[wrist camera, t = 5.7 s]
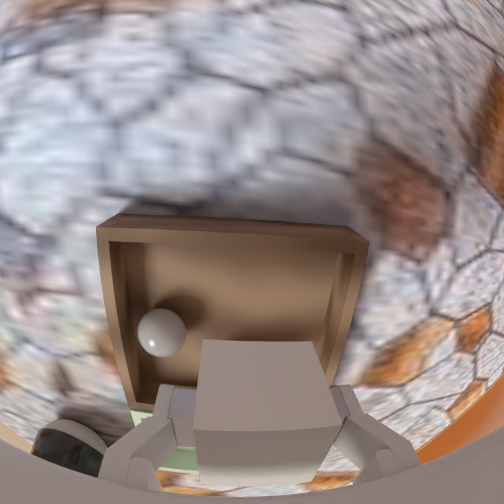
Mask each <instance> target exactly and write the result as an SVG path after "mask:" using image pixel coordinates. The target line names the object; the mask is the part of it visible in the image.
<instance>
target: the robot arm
mask: <svg viewBox="0 0 504 504" xmlns="http://www.w3.org/2000/svg"><path fill="white" fill-rule="evenodd" d="M329 388H330V391H331V394H332V396H333V399H334V402H335V405H336V407H337V410H338V413H339V416H340V418H341V421H342V424H343V425H342V427H341V429H340V431H339V433H338V435H337V437H336V439H335V441H334V444H333V445H334V446H335V447H336V448H337V449H338V450H339V451H341V452H342V453H343V454H344V455H345V456H346V457H347V458H348V459H349V460H350V461H351V462H352V463H353V464H354V465H356V466H357V467H358V468H359V469H360V470H361V473H360V474H359V475H358V476H357V477H356V479H355V480H354V481H353V485H349V486H344V487H339V488H334V489H328V490H322V491H315V492H308V493H300V494H290V495H279V496H261V497H216V496H198V495H187V494H177V493H169V492H162V490H163V489H162V487H161V484H160V482H159V480H158V478H157V475H156V473H155V472H156V471H157V470H158V469H159V468H160V467H161V466H162V464H163V463H164V462H165V461H166V460H167V459H168V458H169V457H170V456H171V454H172V453H173V452H174V451H175V450H176V449H177V448H178V447H177V446H181V447H195V442H194V434H193V423H194V413H195V403H196V394H197V388H196V387H186V386H177V385H168V384H161V385H160V386H159V390H158V394H157V398H156V402H155V407H154V411H153V415H152V417H151V416H148V417H147V418H145V419H144V420H143V421H142V422H141V423H139V424H138V425H137V426H136V427H134V428H133V429H132V430H130V431H129V432H128V433H127V434H125V435H124V436H123V437H122V438H120V439H119V440H118V441H116V442H115V443H114V444H113V445H111V446H110V447H109V448H107V449H106V451H105V454H104V457H103V461H102V464H101V468H100V471H99V475H98V478H96V477H92V476H89V475H86V474H82V473H79V472H76V471H73V470H70V469H67V468H64V467H62V466H59V465H56V464H54V463H51V462H49V461H46V460H44V459H41V458H39V457H36V456H34V455H32V454H29V453H27V452H25V451H23V450H21V449H19V448H17V447H14V446H13V445H11V444H9V443H7V442H5V441H3V440H1V439H0V504H504V426H502V427H500V428H499V429H497V430H495V431H493V432H491V433H490V434H488V435H486V436H484V437H482V438H481V439H478V440H477V441H475V442H473V443H471V444H469V445H467V446H464V447H462V448H460V449H458V450H456V451H454V452H452V453H449V454H447V455H445V456H442V457H440V458H438V459H435V460H433V461H430V462H428V463H425V464H422V465H421V463H420V461H419V458H418V456H417V454H416V452H415V450H414V448H413V446H412V444H411V442H410V441H409V440H407V439H405V438H404V437H402V436H401V435H399V434H397V433H396V432H394V431H393V430H391V429H390V428H388V427H387V426H385V425H384V424H382V423H381V422H379V421H378V420H376V419H375V418H373V417H372V416H370V415H369V414H364V413H363V411H362V409H361V407H360V404H359V402H358V400H357V398H356V395H355V393H354V391H353V389H352V387H351V386H350V385H339V386H329Z"/></svg>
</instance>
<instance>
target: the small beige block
mask: <svg viewBox="0 0 504 504" xmlns="http://www.w3.org/2000/svg"><path fill="white" fill-rule="evenodd" d="M342 425H343V424H342V421H341V418H340V416H339V413H338V410H337V407H336V405H335V402H334V399H333V396H332V394H331V391H330V388H329V385H328V383H327V380H326V377H325V375H324V372H323V369H322V367H321V364H320V361H319V359H318V356H317V353H316V351H315V348H314V345H313V343H312V341H304V342H262V341H227V340H207V339H203V342H202V350H201V358H200V367H199V376H198V385H197V394H196V403H195V413H194V423H193V434H194V442H195V450H196V457H197V464H198V471H199V477H200V484H201V485H208V486H271V485H285V484H296V483H305V482H311V481H312V479H313V477H314V476H315V474H316V473H317V471H318V469H319V467H320V466H321V464H322V462H323V461H324V459H325V457H326V455H327V454H328V452H329V450H330V448H331V446H332V444H333V443H334V441H335V439H336V437H337V435H338V433H339V431H340V429H341V427H342Z"/></svg>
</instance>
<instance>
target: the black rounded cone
mask: <svg viewBox="0 0 504 504" xmlns="http://www.w3.org/2000/svg"><path fill="white" fill-rule="evenodd" d="M107 448H108V447H107V446H106V444H105V442H104V441H103V440H102V439H101V437H100V436H99V435H98V434H96V433H95V432H94V431H93V430H91V429H90V428H88V427H87V426H85V425H83V424H81V423H78V422H75V421H72V420H67V419H59V420H55V421H52V422H50V423H49V424H47V425H46V426H45V427H44V428H42V429H40V430H39V431H38V433H37V435H36V437H35V439H34V442H33V446H32V449H31V453H30V454H32V455H34V456H36V457H39V458H41V459H44V460H46V461H49V462H51V463H54V464H56V465H59V466H62V467H64V468H67V469H70V470H73V471H76V472H79V473H82V474H86V475H89V476H92V477H96V478H98V475H99V471H100V468H101V464H102V461H103V457H104V454H105V451H106V449H107Z"/></svg>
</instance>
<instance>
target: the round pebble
mask: <svg viewBox="0 0 504 504" xmlns="http://www.w3.org/2000/svg"><path fill="white" fill-rule="evenodd" d="M138 339H139V341H140V344H141V345H142V347H143V348H144V349H145V350H146V351H147V352H148V353H150V354H151V355H154V356H157V357H169V356H172V355H174V354H176V353H177V352H179V351H180V350H181V348H182V347H183V345H184V343H185V341H186V327H185V324H184V322H183V320H182V319H181V318H180V316H179V315H178V314H176V313H175V312H173V311H171V310H169V309H165V308H157V309H153V310H151V311H149V312H147V313H146V314H145V315H144V316H143V317H142V319H141V320H140V322H139V325H138Z"/></svg>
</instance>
